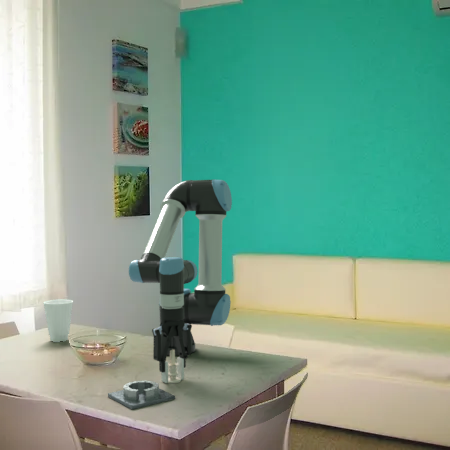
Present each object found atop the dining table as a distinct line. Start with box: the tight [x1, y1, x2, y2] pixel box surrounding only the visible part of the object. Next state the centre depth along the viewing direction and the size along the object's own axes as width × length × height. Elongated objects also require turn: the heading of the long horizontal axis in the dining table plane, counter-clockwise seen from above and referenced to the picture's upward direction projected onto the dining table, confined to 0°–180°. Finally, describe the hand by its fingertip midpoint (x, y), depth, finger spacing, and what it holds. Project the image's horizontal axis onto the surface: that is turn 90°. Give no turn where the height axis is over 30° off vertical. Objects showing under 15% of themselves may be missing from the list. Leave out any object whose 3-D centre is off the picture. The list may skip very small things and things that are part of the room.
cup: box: [43, 299, 74, 343], centre depth 247 cm, size 12×12×16 cm
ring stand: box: [107, 380, 176, 410], centre depth 173 cm, size 14×14×4 cm
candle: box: [167, 348, 182, 384], centre depth 189 cm, size 5×5×10 cm
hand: (172, 380), depth 189 cm, fingers closed on candle, 5 cm apart
